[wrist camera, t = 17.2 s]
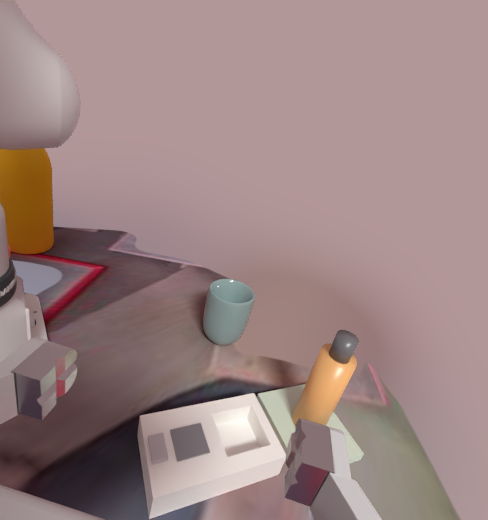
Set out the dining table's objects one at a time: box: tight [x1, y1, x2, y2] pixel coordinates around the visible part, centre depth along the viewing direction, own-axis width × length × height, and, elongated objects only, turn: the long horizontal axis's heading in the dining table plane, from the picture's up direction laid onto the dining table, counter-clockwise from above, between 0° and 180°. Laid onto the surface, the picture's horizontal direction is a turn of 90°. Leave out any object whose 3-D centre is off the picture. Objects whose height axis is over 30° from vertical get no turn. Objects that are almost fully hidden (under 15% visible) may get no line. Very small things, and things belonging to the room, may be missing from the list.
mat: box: [257, 384, 364, 464], centre depth 44 cm, size 12×10×1 cm
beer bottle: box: [0, 148, 54, 254], centre depth 65 cm, size 9×9×29 cm
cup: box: [203, 279, 255, 345], centre depth 56 cm, size 8×8×10 cm
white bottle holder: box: [137, 393, 286, 519], centre depth 37 cm, size 15×9×4 cm, turn 113°
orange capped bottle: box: [292, 330, 359, 425], centre depth 41 cm, size 4×4×15 cm
